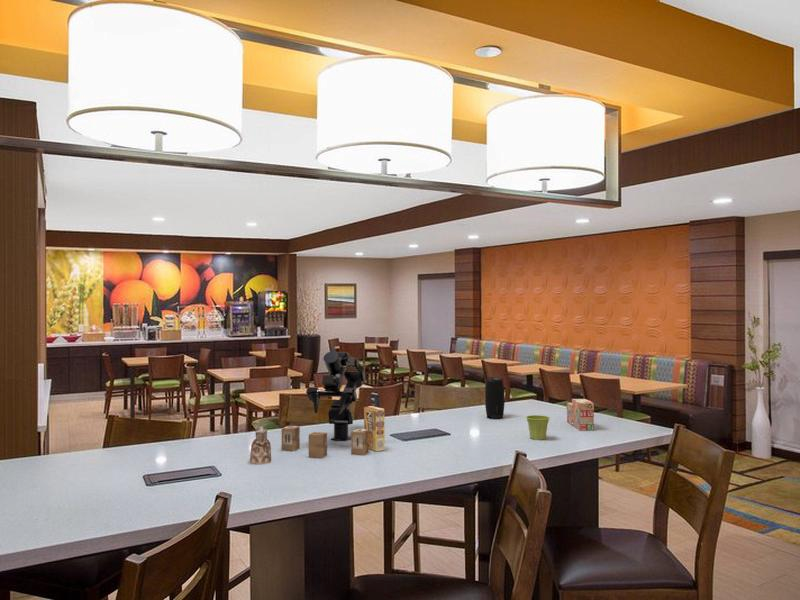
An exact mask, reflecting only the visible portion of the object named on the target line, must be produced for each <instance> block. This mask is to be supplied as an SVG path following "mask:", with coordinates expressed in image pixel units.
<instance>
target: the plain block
mask: <svg viewBox="0 0 800 600" xmlns="http://www.w3.org/2000/svg"><path fill="white" fill-rule="evenodd" d="M327 456H328V432H321V431H313V432H311V433H309V434H308V458H309V459H324V458H325V457H327Z"/></svg>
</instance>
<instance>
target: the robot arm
mask: <svg viewBox="0 0 800 600" xmlns="http://www.w3.org/2000/svg"><path fill="white" fill-rule="evenodd" d="M323 361H324V363H325V367H326V369H327V371H328V372H329V373H328V374H324V375H323V374H322V380H321V385H323V386H322V388H323V389H324V390H319V387H317V386H309V387H307V388H306V392H305V393H306V395H307V398H308V401H311V402H312V403H313V408H314V409H313V410H314V414H317V413H318V410H319V405H320V399H321V397H331V398H332V397H334V398H335V397H337V398H339V399H334V400H333V401H332V403H331V404H330V408H329V409H328V421H329V425H333V437H331V438H330V440H332V441H348V440H350V439H351V435H349V426H350V425H353V424H354V416H353V414H352V410H351V407H350V405H351V404H353V403H354V402H357V400H358V399H357V398H358V394H357V392H356V390H357V389H358V388H361V387H362V386H363V384H364V382H366V372H365V368H364V367H363V365H362V364H361V363H360V360H359V358H357V357H352V356H351V355H350V353H349V352H348V351H336V349H330V351H328V352H326V353H325V354H324V355H323ZM344 367H345V368H344ZM349 368H356V370H348V369H349ZM343 379H345V382H346V384H345V386H344V389H343V391H341V389H342V387H343Z"/></svg>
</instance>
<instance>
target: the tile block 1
mask: <svg viewBox="0 0 800 600" xmlns="http://www.w3.org/2000/svg"><path fill="white" fill-rule="evenodd" d="M300 427H301V426H297V425H287V426H285V427H283V428H281V451H285V452H286V451H287V452H295V451H297V450H299V449H300V445H301V444H300V441H301V440H300V439H301V438H300V435H301V434H300V431H301V430H300Z"/></svg>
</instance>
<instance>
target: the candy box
mask: <svg viewBox="0 0 800 600" xmlns="http://www.w3.org/2000/svg"><path fill="white" fill-rule="evenodd" d="M385 423H386V421H385V408H383V407H378V406H373V405H369V406H364V407H363V429H365V430H369V450H371V451H374V452H380V451H385V448H386V447H385V444H386V443H385V442H386V440H385V438H386V437H385V433H386V432H385Z"/></svg>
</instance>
